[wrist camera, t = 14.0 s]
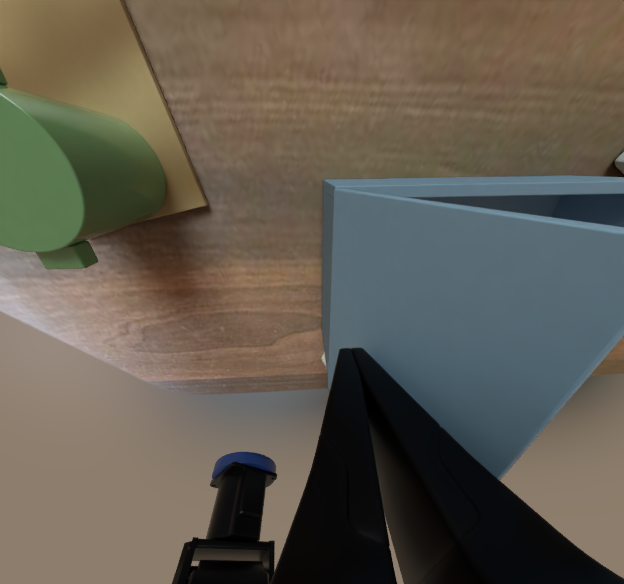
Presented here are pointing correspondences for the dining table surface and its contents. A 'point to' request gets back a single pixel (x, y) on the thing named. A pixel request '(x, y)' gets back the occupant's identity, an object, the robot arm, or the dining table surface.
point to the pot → (70, 177)
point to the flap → (476, 311)
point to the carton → (484, 205)
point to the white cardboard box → (620, 162)
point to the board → (96, 76)
